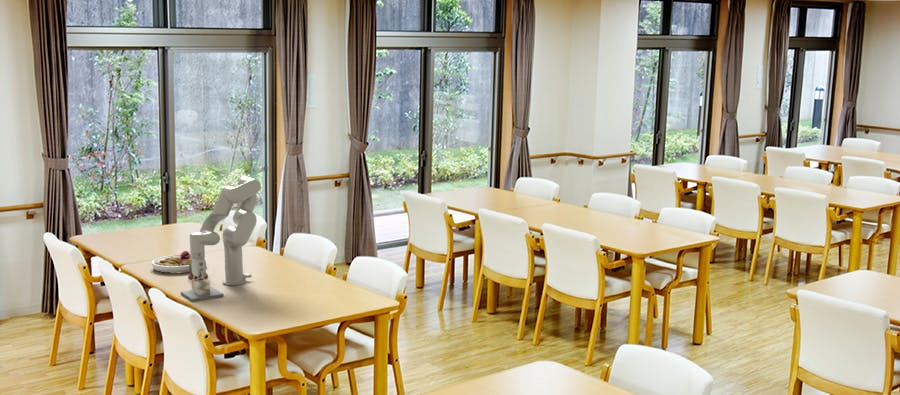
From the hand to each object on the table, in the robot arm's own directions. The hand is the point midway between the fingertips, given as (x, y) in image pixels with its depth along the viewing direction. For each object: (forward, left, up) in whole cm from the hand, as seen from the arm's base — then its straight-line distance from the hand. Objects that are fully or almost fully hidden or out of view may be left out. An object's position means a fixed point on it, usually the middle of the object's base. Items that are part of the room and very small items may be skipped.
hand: (198, 287), depth 503 cm
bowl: (-7, -50, -1) cm, 51 cm away
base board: (+3, +14, -1) cm, 14 cm away
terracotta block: (0, 0, -1) cm, 1 cm away
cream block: (+3, +14, +1) cm, 14 cm away
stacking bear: (-9, -25, -1) cm, 26 cm away
